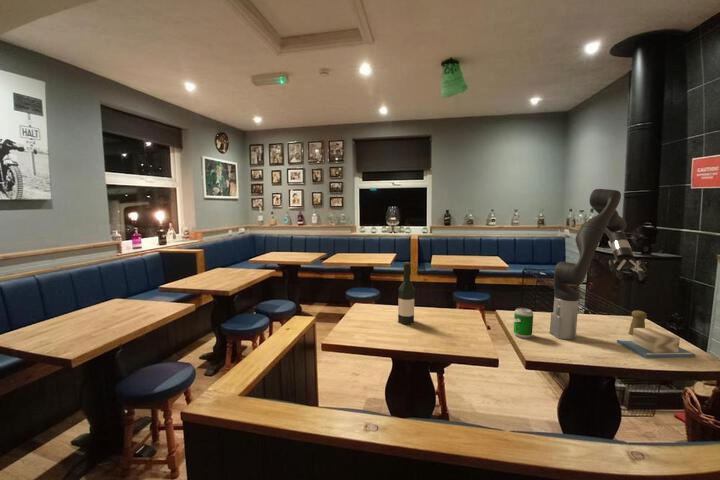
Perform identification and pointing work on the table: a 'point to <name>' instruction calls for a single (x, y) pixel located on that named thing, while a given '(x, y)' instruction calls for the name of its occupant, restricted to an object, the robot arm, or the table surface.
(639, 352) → the board
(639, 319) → the cork
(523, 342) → the table surface
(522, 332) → the soda can
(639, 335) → the maple pedestal
